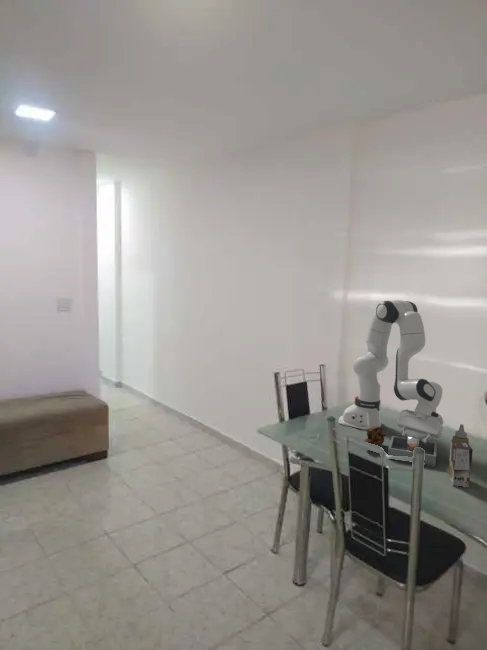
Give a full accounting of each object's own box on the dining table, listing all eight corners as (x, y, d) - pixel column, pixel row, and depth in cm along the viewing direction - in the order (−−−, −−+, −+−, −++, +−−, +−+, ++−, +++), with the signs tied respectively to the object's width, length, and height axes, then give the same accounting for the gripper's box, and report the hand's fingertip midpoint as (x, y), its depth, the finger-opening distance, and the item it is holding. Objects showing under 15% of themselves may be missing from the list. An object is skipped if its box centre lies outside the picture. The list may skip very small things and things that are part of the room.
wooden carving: (371, 454, 217) (372, 434, 215) (362, 451, 220) (363, 431, 218) (387, 444, 229) (388, 424, 227) (378, 441, 232) (379, 422, 230)
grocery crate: (387, 458, 212) (388, 448, 212) (391, 445, 227) (392, 435, 226) (435, 467, 205) (436, 456, 204) (436, 452, 219) (436, 442, 218)
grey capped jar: (405, 454, 214) (407, 438, 213) (406, 450, 219) (407, 434, 218) (417, 456, 212) (419, 440, 211) (418, 452, 217) (419, 436, 216)
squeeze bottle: (466, 460, 212) (469, 422, 209) (470, 468, 204) (474, 429, 201) (447, 458, 214) (450, 420, 211) (450, 466, 206) (453, 427, 203)
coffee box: (469, 488, 187) (473, 449, 184) (452, 486, 188) (455, 448, 186) (463, 477, 196) (467, 440, 193) (447, 475, 197) (450, 439, 194)
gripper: (401, 405, 226) (390, 430, 220) (444, 416, 212) (433, 443, 206) (404, 411, 230) (394, 436, 224) (447, 423, 216) (436, 449, 210)
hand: (413, 439), depth 215 cm, fingers open, 8 cm apart
